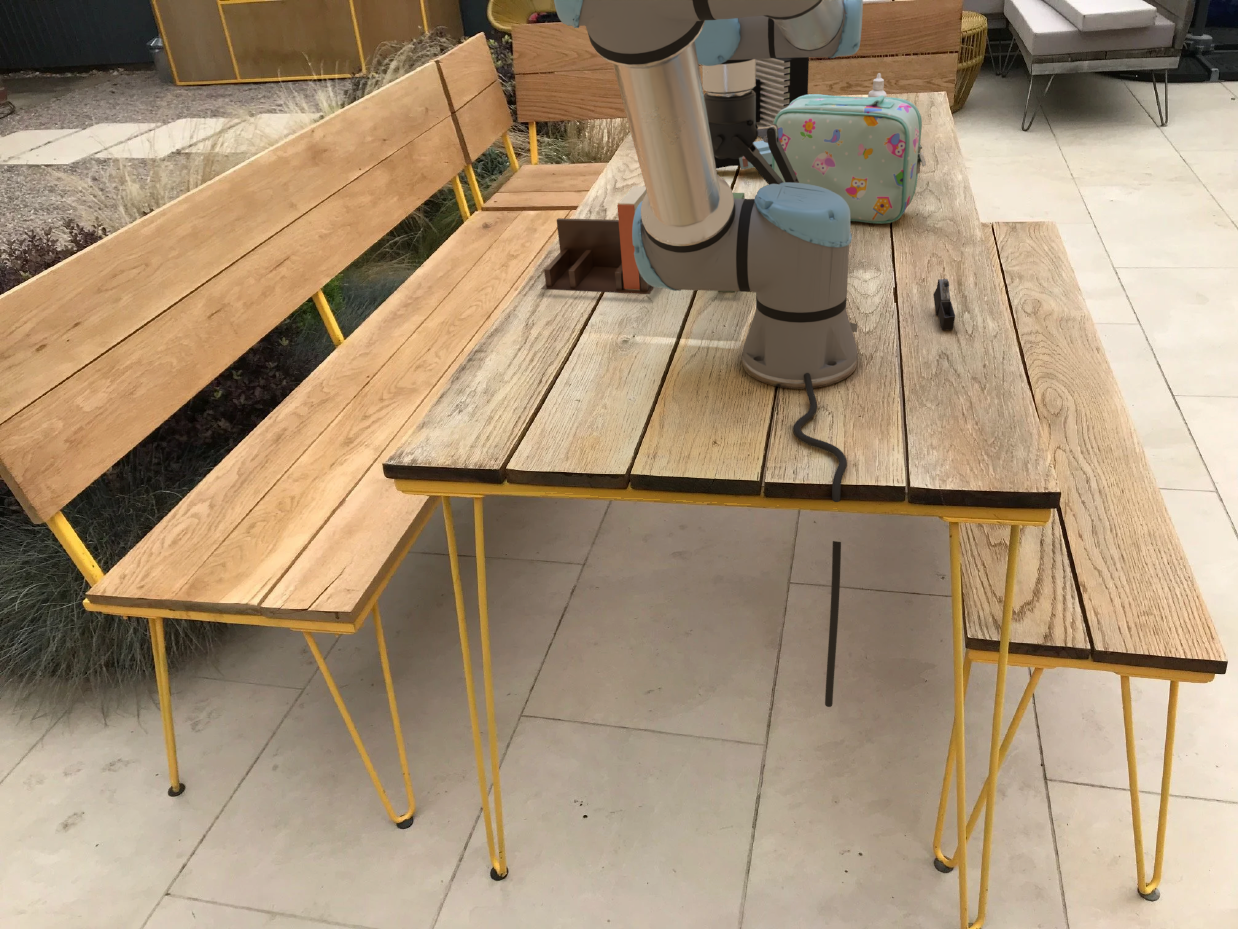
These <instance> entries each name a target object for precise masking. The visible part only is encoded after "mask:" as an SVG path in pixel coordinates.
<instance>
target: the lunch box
mask: <svg viewBox="0 0 1238 929" xmlns="http://www.w3.org/2000/svg"><path fill="white" fill-rule="evenodd" d="M773 124H776V125H777V126H778V135H779V140H780V143H781V145H782V147H783V149H784V151H785V153H786V155H787V157H788V159H789V162H790V164H791V166H792V168H793V170H794V172H795V174H796V176H797V179H798V181H799V183H803V184H810V185H815V186H819V187H822V188H825V189H828V190H830V191H832V192H834V193H836V194H838V195H839V196H841V197H842V198H843V199H844V200H845V201H846V202H847V204H848V206H849V209H850V222H860V223H869V224H891V223H894V222H896V221H898V220H899V219H901V217H902V216H903V215H904V213H905V212H906V209H907V208H908V206H910V204H911V203H912V201H913V199H914V196H915V194H916V190H917V186H918V178H919V174H920V173H921V166H922V167H926V165H927V164H926V159H925V155H924V151H921V150H922V149H923V146H922V144H921V139H922V127H923V119H922V115H921V112H920V110H919V108H918V107H917V106H916V105H915V104H914V103H912V102H911V101H910V100H908V99H903V98H900V97H890V96H887V97H884V96H883V95H881V96H879V97H868V96H866V97H865V96H845V95H844V96H843V95H830V94H820V93H819V94H818V93H808V95H804V96H801V97H798V98H796V99H795V100H793V101H792V102H791V103H790V104H789V106H788V107H786V108H784V109H783V110H781V111H780V112H779V113H778V114H777V115H776V117H775V119H774V123H773ZM772 168H773V170H774V171H775V172H776V173H777V175H778V176H779V177H780V178H781V179H782V181H783V182H784V183H785V180H784V178H783V176H782V174H781V172H780V170H779V168H778V166H777V163H776V161H775V159H774V157H773V155H772Z"/></svg>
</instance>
